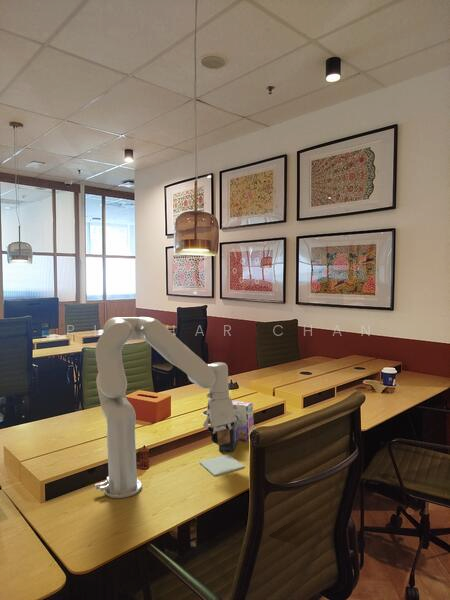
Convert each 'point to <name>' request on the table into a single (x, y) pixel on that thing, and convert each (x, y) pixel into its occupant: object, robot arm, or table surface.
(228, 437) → the cube
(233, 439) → the small box
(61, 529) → the table surface
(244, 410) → the candy box
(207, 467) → the mat
